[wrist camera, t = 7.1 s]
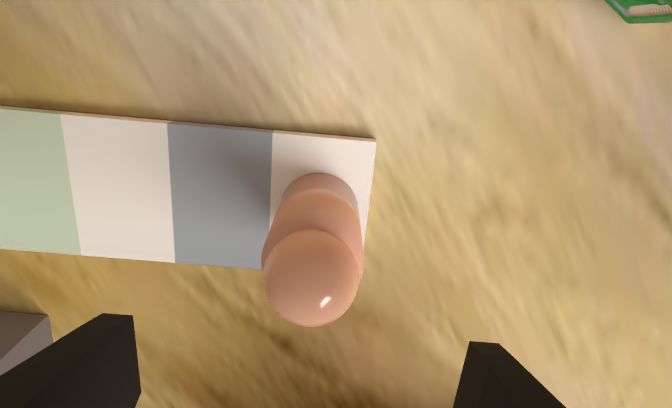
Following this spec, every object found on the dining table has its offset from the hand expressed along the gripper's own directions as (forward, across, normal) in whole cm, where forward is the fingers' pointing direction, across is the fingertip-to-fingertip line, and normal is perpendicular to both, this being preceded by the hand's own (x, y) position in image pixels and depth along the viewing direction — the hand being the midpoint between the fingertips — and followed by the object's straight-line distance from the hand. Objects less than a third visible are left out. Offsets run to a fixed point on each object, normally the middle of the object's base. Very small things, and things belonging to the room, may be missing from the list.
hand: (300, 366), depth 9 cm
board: (+9, +8, 0) cm, 12 cm away
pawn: (+9, 0, 0) cm, 9 cm away
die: (+10, +15, +9) cm, 20 cm away
